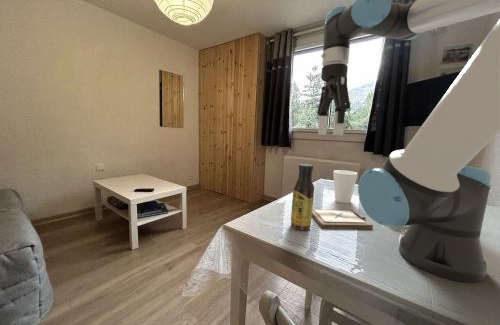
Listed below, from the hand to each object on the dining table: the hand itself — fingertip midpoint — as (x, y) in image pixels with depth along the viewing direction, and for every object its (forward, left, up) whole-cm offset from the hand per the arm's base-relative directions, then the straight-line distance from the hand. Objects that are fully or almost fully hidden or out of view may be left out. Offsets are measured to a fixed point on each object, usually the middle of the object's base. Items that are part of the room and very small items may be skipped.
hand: (329, 135), depth 68 cm
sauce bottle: (-7, +9, -29) cm, 31 cm away
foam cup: (+20, -17, -29) cm, 39 cm away
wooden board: (-1, -5, -29) cm, 29 cm away
